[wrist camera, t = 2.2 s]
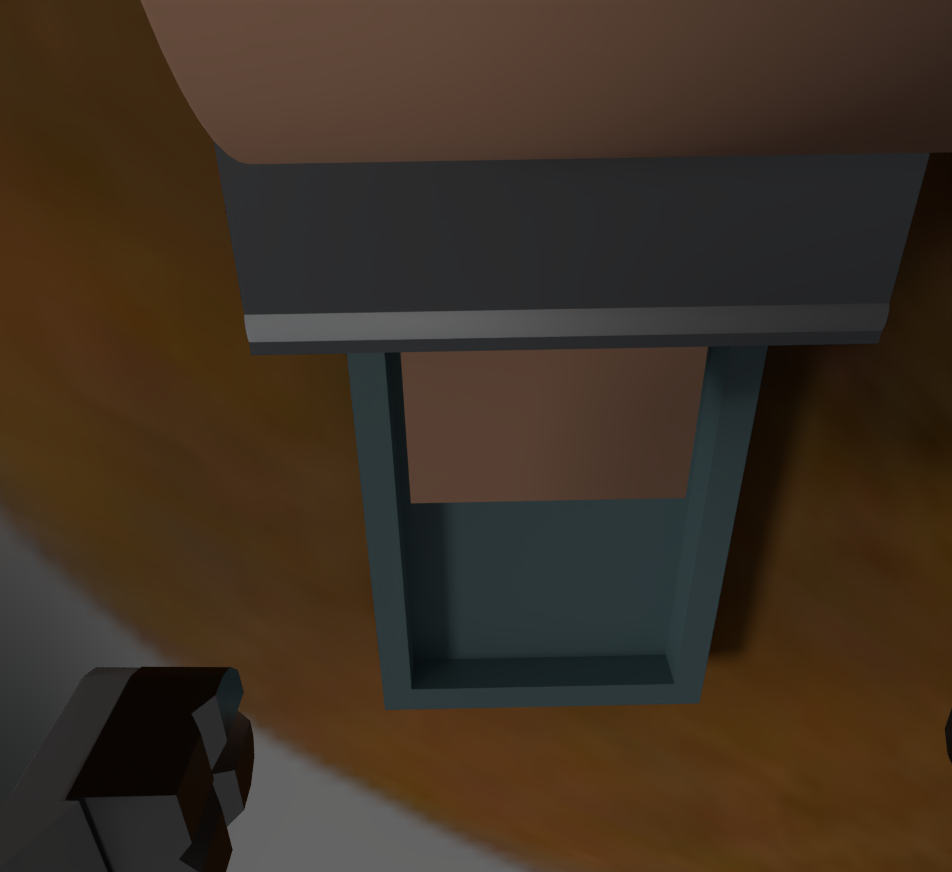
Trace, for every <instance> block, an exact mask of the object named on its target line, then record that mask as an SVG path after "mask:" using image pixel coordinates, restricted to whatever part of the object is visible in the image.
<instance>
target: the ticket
mask: <svg viewBox="0 0 952 872" xmlns="http://www.w3.org/2000/svg"><path fill="white" fill-rule="evenodd" d="M707 351H708V347H663V348H609V349H555V350H501V351H446V352H401V366H402V381H403V395H404V410H405V424H406V439H407V453H408V468H409V482H410V497H411V503H452V502H503V501H554V500H605V499H656V498H686V491H687V484H688V478H689V471H690V464H691V458H692V451H693V444H694V438H695V431H696V425H697V418H698V411H699V405H700V398H701V391H702V385H703V378H704V371H705V365H706V358H707Z"/></svg>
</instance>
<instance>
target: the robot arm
mask: <svg viewBox="0 0 952 872" xmlns="http://www.w3.org/2000/svg"><path fill="white" fill-rule="evenodd" d="M243 692H244V691H243V688H242V684H241V680H240V676H239V673H238V670H236V669H234V668H231V667H141V668H114V667H112V668H111V667H110V668H109V667H105V668H104V667H103V668H102V667H96V668H94V669H93V670H92V671H90V672H89V673H88V674H86V675H85V676H84V677H83V678H82V679H81V681H80V682H79V684H78V685H77V687H76V688H75V690H74V692H73V693H72V695H71V697H70V698H69V700H68V702H67V703H66V705H65V706H64V708H63V710H62V711H61V713H60V715H59V716H58V718H57V720H56V721H55V723H54V724H53V726H52V728H51V729H50V731H49V733H48V734H47V736H46V737H45V739H44V741H43V742H42V744H41V746H40V747H39V749H38V750H37V752H36V754H35V756H34V757H33V759H32V760H31V762H30V764H29V765H28V767H27V769H26V770H25V772H24V773H23V775H22V777H21V778H20V780H19V782H18V783H17V785H16V786H15V788H14V790H13V791H12V793H11V795H10V796H9V798H8V800H7V801H6V802H0V872H226V870H227V867H228V863H229V860H230V857H231V853H232V850H233V849H232V846H231V842H230V838H229V834H228V830H227V826H228V825H229V824H230V823H231V822H232V821H233V820H234V819H235V818H236V817H237V816H238V815H239V814H240V813H241V812H242V811H243V810H244V808H245V805H246V801H247V797H248V794H249V790H250V786H251V780H252V772H253V764H254V738H253V732H252V727H251V722H250V720H249V719H247V718H246V717H245V716H244V715H243V714H241V713H240V712H239V711H238V707H239V704H240V701H241V698H242V695H243ZM945 736H946V745H947V754H948V756H949V759H950V761H951V764H952V709H951V712H950V715H949V717H948V720H947V723H946V726H945Z"/></svg>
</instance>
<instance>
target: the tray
mask: <svg viewBox="0 0 952 872" xmlns="http://www.w3.org/2000/svg"><path fill="white" fill-rule="evenodd" d="M767 348H768V346H718V347H708V351H707V358H706V365H705V371H704V378H703V385H702V391H701V398H700V405H699V411H698V418H697V425H696V431H695V438H694V444H693V451H692V458H691V464H690V471H689V478H688V484H687V491H686V498H656V499H605V500H554V501H503V502H452V503H411V497H410V482H409V468H408V453H407V439H406V424H405V410H404V395H403V381H402V366H401V352H392V353H347V359H348V368H349V377H350V387H351V396H352V405H353V415H354V424H355V433H356V443H357V452H358V461H359V471H360V480H361V489H362V499H363V508H364V517H365V527H366V536H367V545H368V555H369V564H370V573H371V582H372V592H373V601H374V610H375V620H376V629H377V638H378V648H379V657H380V666H381V676H382V685H383V694H384V704H385V710H401V709H449V708H496V707H544V706H591V705H639V704H686V703H699V702H700V697H701V691H702V686H703V681H704V676H705V671H706V665H707V660H708V655H709V650H710V645H711V639H712V634H713V629H714V624H715V619H716V613H717V608H718V603H719V598H720V593H721V587H722V582H723V577H724V572H725V567H726V561H727V556H728V551H729V546H730V541H731V536H732V530H733V525H734V520H735V515H736V510H737V504H738V499H739V494H740V489H741V484H742V478H743V473H744V468H745V463H746V458H747V452H748V447H749V442H750V437H751V432H752V426H753V421H754V416H755V411H756V406H757V400H758V395H759V390H760V385H761V380H762V374H763V369H764V364H765V359H766V354H767Z"/></svg>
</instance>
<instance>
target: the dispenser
mask: <svg viewBox="0 0 952 872" xmlns="http://www.w3.org/2000/svg"><path fill="white" fill-rule="evenodd" d="M141 2H142V5H143V7H144V9H145V12H146V14H147V17H148V19H149V21H150V24H151V26H152V29H153V31H154V33H155V36H156V38H157V41H158V43H159V45H160V48H161V50H162V52H163V54H164V56H165V58H166V60H167V62H168V65H169V67H170V69H171V71H172V73H173V75H174V77H175V79H176V81H177V83H178V85H179V87H180V89H181V91H182V93H183V94H184V96H185V98H186V99H187V101H188V103H189V105H190V106H191V108H192V110H193V111H194V113H195V115H196V117H197V118H198V120H199V121H200V123H201V124H202V125H203V127H204V128H205V129H206V131H207V132H208V134H209V135H210V136H211V138H212V139H213V140H214V145H215V151H216V156H217V162H218V168H219V173H220V179H221V185H222V190H223V196H224V202H225V208H226V213H227V219H228V225H229V230H230V236H231V242H232V247H233V253H234V259H235V264H236V270H237V276H238V282H239V287H240V293H241V299H242V304H243V310H244V318H245V328H246V333H247V337H248V341H249V344H250V350H251V355H284V354H338V353H392V352H446V351H501V350H555V349H609V348H663V347H718V346H772V345H826V344H878V343H879V340H880V336H881V332H882V330H883V328H884V326H885V324H886V321H887V318H888V313H889V303H890V299H891V295H892V292H893V288H894V284H895V281H896V277H897V273H898V269H899V266H900V262H901V258H902V255H903V251H904V247H905V244H906V240H907V236H908V232H909V229H910V225H911V221H912V218H913V214H914V210H915V207H916V203H917V199H918V195H919V192H920V188H921V184H922V181H923V177H924V173H925V170H926V166H927V162H928V159H929V155H930V153H943V152H952V0H141Z"/></svg>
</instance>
